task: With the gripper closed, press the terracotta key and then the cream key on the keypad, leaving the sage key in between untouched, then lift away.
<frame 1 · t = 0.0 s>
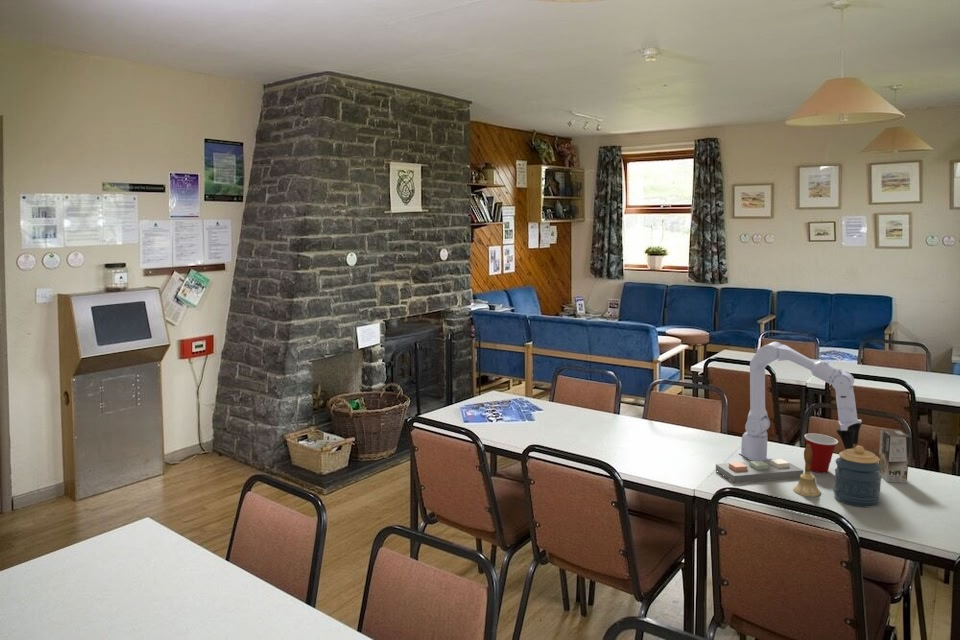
hand: (851, 446, 238), 11 cm above the table, tool pointing down, fingers open, 7 cm apart
sage key: (759, 466, 242), point 3 cm above the table, slide at 0.0 cm
hand bell: (806, 492, 226), on the table
keypad: (758, 474, 243), on the table
terracotta key: (738, 467, 241), point 3 cm above the table, slide at 0.0 cm
coffee box: (892, 478, 237), on the table
canister: (856, 500, 219), on the table
cream key: (779, 464, 244), point 3 cm above the table, slide at 0.0 cm
plastic cup: (819, 470, 246), on the table
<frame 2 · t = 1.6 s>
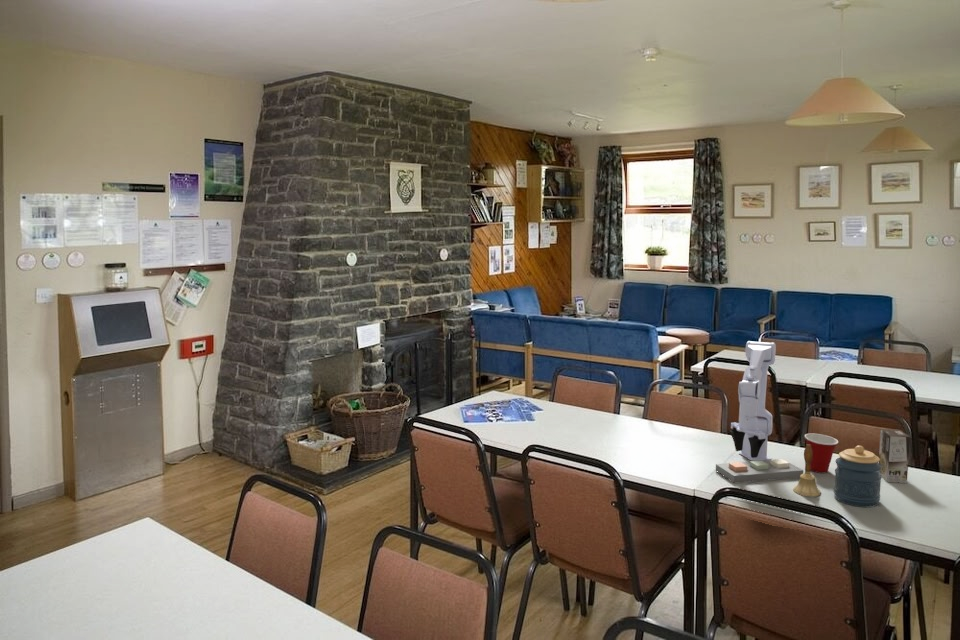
hand: (746, 453, 238), 9 cm above the table, tool pointing down, fingers open, 7 cm apart
nothing on the table moved.
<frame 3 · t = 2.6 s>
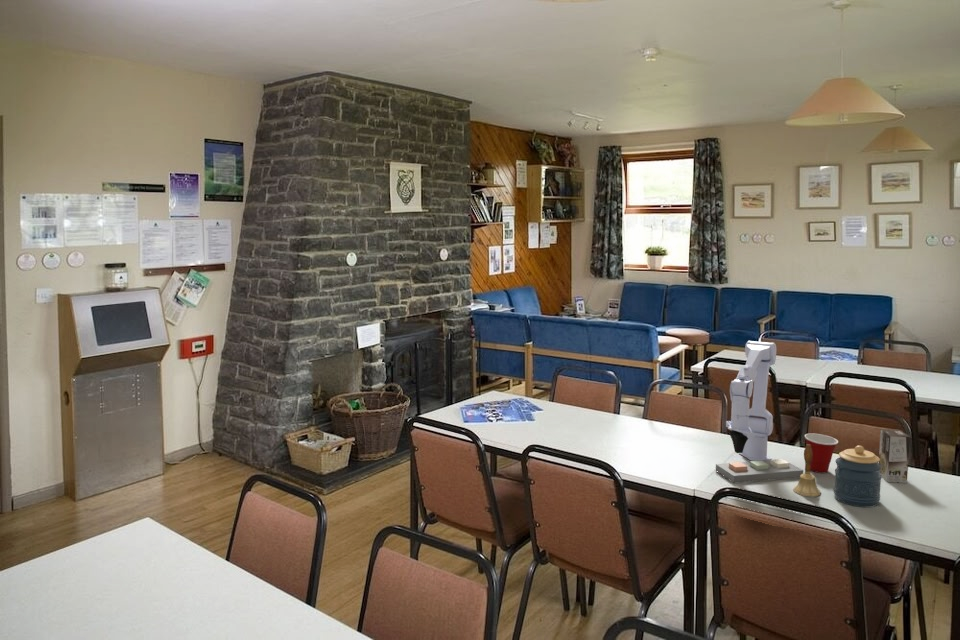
hand: (738, 452, 240), 8 cm above the table, tool pointing down, fingers closed
nothing on the table moved.
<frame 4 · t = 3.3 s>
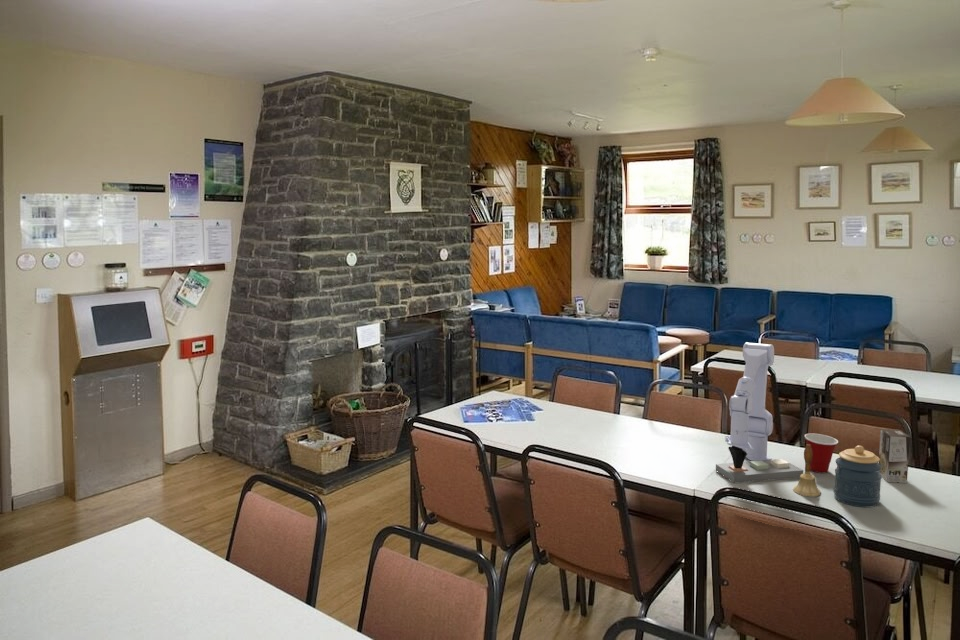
hand: (738, 467, 241), 3 cm above the table, tool pointing down, fingers closed, pressing on terracotta key
terracotta key: (737, 470, 241), point 2 cm above the table, slide at 1.0 cm, touching gripper
everything else where it was.
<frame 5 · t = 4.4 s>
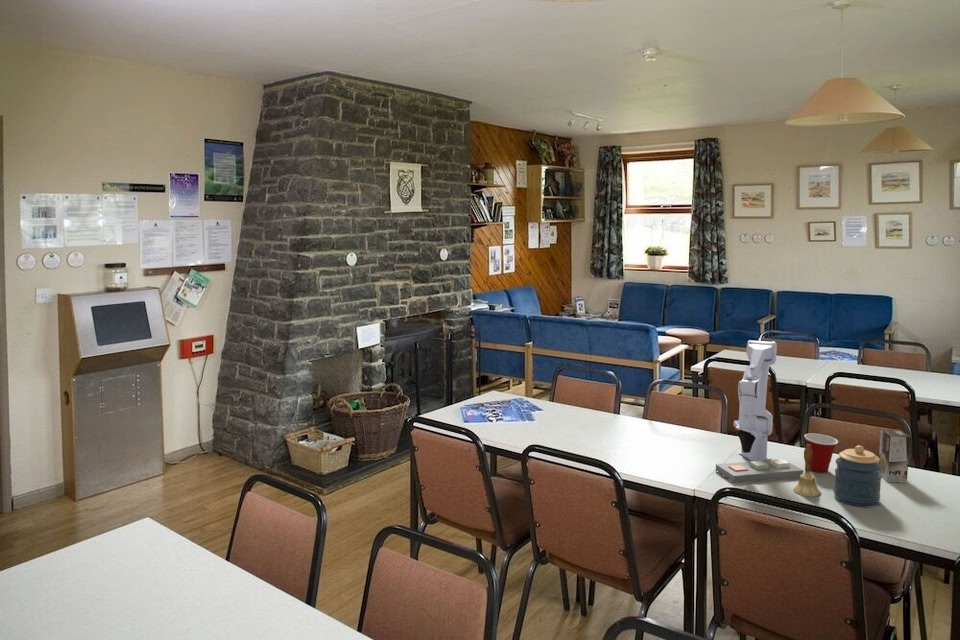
hand: (746, 452, 241), 8 cm above the table, tool pointing down, fingers closed
terracotta key: (737, 470, 241), point 2 cm above the table, slide at 1.0 cm
everything else where it was.
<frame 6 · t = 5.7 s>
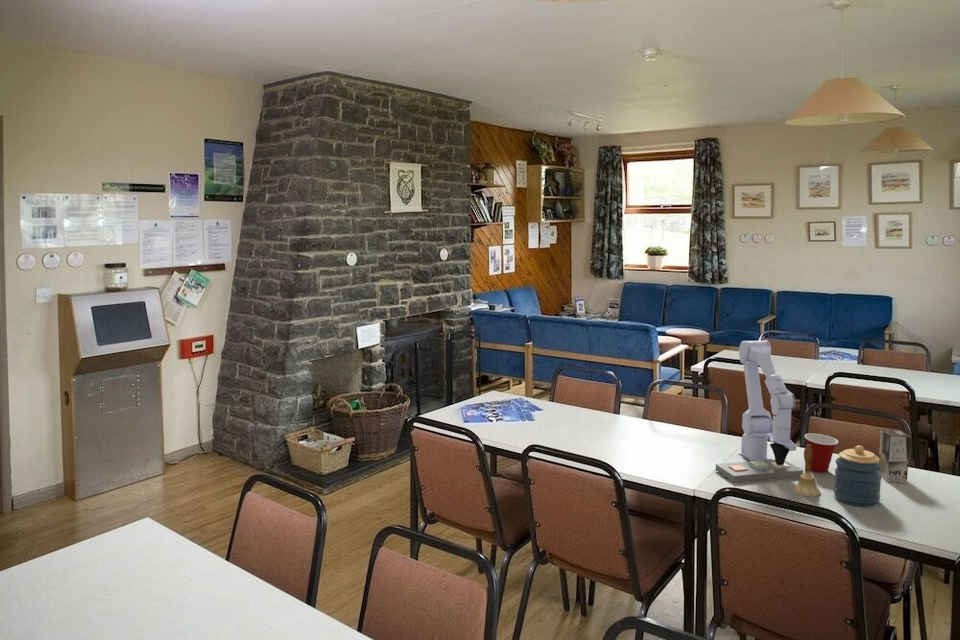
hand: (779, 464, 243), 3 cm above the table, tool pointing down, fingers closed, pressing on cream key
cream key: (779, 467, 244), point 2 cm above the table, slide at 1.0 cm, touching gripper
everything else where it was.
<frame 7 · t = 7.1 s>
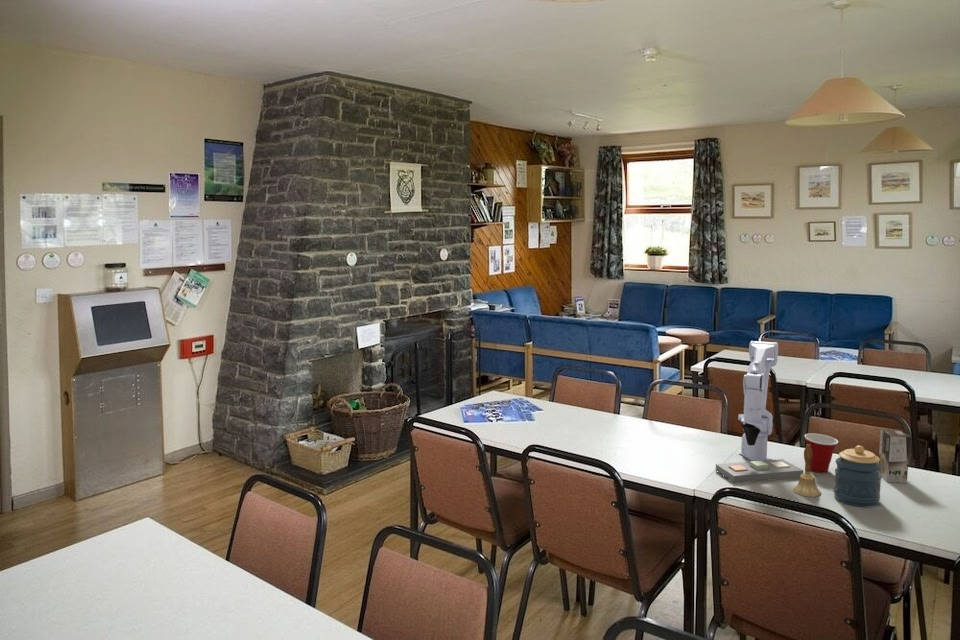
hand: (751, 444, 245), 9 cm above the table, tool pointing down, fingers closed
cream key: (779, 467, 244), point 2 cm above the table, slide at 1.0 cm
everything else where it was.
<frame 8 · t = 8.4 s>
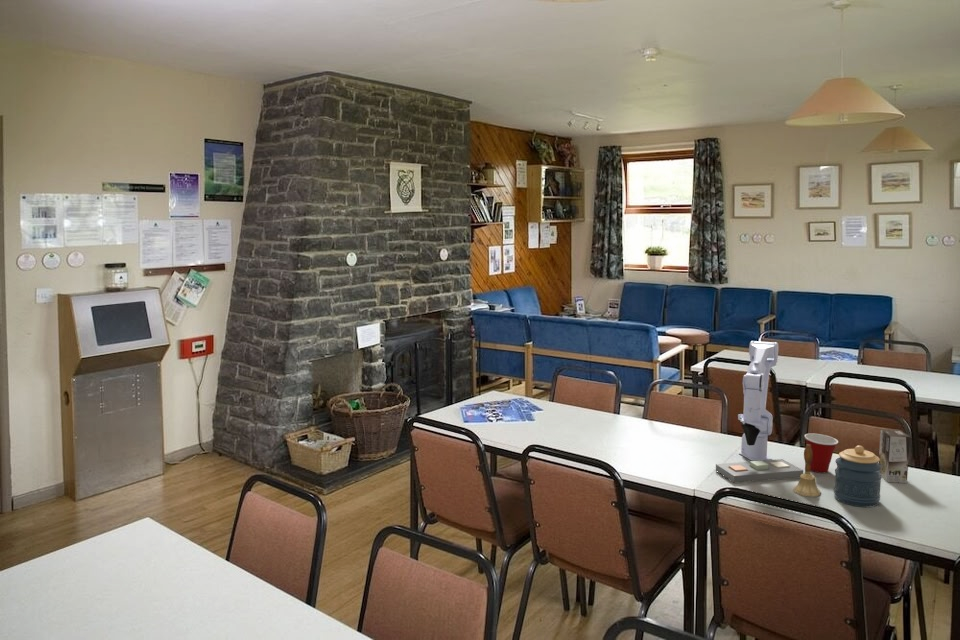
hand: (750, 444, 245), 9 cm above the table, tool pointing down, fingers closed
nothing on the table moved.
at the end: terracotta key slide at 1.0 cm; cream key slide at 1.0 cm; sage key slide at 0.0 cm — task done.
